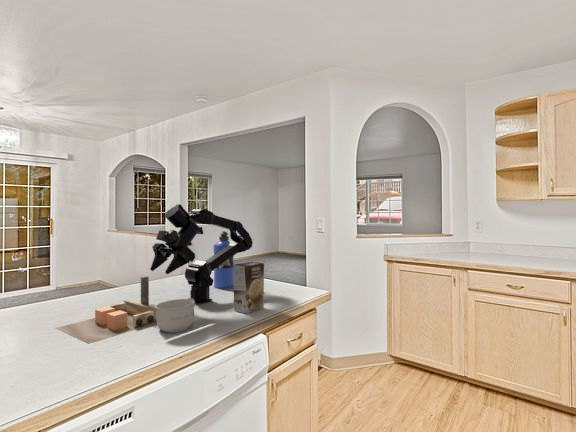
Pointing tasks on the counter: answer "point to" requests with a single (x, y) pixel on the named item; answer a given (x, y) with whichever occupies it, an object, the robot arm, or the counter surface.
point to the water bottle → (223, 265)
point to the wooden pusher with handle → (139, 306)
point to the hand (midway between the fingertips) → (158, 271)
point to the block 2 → (117, 320)
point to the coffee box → (248, 287)
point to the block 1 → (102, 315)
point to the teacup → (175, 315)
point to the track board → (99, 329)
